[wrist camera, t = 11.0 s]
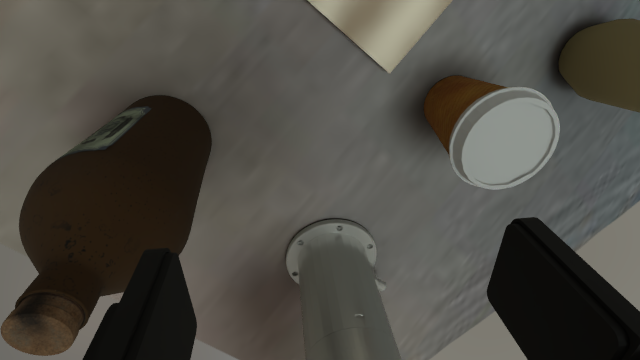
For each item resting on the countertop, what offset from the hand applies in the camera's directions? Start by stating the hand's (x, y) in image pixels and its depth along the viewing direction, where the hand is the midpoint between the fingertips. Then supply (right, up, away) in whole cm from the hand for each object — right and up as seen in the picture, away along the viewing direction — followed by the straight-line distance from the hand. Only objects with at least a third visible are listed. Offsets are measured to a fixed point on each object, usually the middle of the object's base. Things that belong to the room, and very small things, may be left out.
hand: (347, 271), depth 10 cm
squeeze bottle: (+28, +17, +30) cm, 44 cm away
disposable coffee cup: (+14, +11, +31) cm, 36 cm away
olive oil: (-17, +8, +29) cm, 34 cm away
